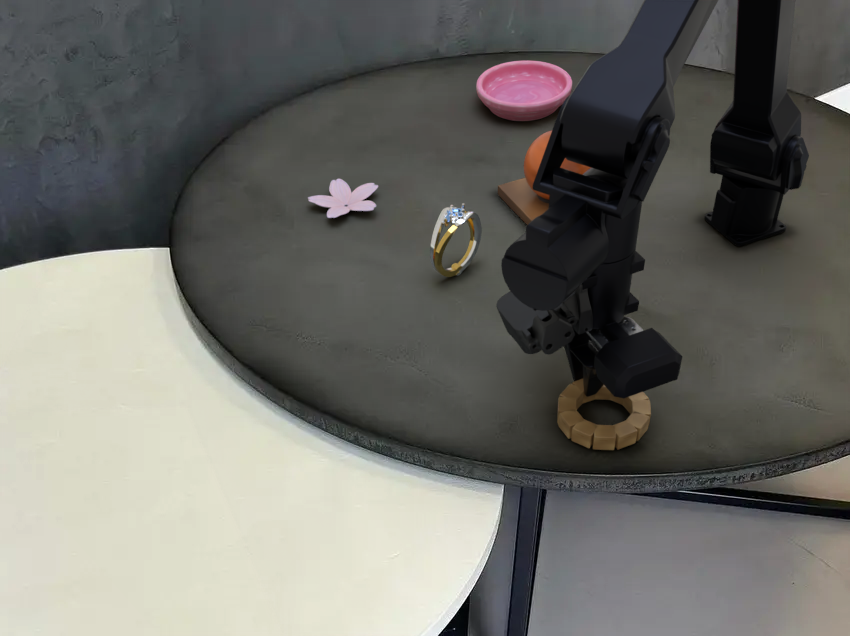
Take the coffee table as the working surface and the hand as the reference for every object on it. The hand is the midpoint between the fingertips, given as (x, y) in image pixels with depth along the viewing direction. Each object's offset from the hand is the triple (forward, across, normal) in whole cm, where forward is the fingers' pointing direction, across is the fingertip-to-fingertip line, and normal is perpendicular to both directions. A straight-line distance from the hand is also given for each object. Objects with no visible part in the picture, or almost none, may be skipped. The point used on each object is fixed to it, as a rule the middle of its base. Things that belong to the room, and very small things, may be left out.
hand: (585, 388), depth 92 cm
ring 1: (+2, -24, -2) cm, 24 cm away
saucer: (+2, -54, +22) cm, 58 cm away
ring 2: (+1, +3, 0) cm, 3 cm away
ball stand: (+1, -31, +14) cm, 34 cm away
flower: (+2, -42, -8) cm, 42 cm away
